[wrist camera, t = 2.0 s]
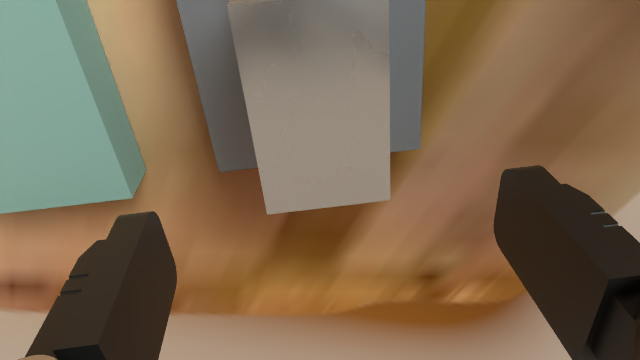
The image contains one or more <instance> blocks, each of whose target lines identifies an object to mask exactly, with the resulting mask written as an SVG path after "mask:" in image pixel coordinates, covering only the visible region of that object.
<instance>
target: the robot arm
mask: <svg viewBox="0 0 640 360" xmlns="http://www.w3.org/2000/svg"><path fill="white" fill-rule="evenodd" d="M494 234H495V238H496V241H497V244H498V246H499V248H500V250H501V251H502V253H503V254H504V256H505V257H506V259H507V260H508V262H509V264H510V265H511V267H512V268H513V270H514V271H515V273H516V274H517V276H518V277H519V279H520V280H521V282H522V283H523V285H524V286H525V288H526V290H527V291H528V293H529V294H530V296H531V297H532V299H533V300H534V302H535V303H536V305H537V306H538V308H539V309H540V311H541V312H542V314H543V316H544V317H545V318H546V320H547V322H548V323H549V324H550V326H551V328H552V329H553V330H554V332H555V334H556V335H557V337H558V338H559V340H560V341H561V343H562V345H563V346H564V348H565V349H566V351H567V352H568V354H569V355H570V357H571V358H572V360H640V243H639V242H638V241H637V240H636V239H635V238H634V237H633V236H632V235H631V234H630V233H629V232H627V231H626V230H625V229H624V228H623V227H622V226H618V223H617V221H615V219H613V218H612V217H611V216H610V215H609V214H608V213H606V214H605V210H604V209H603V208H602V207H601V206H600V205H598V204H597V203H596V202H595V201H594V200H593V199H592V198H591V197H590V196H589V195H587V194H585V193H583V192H581V191H579V190H577V189H575V188H573V187H571V186H570V185H568V184H560V183H559V182H558V181H557V180H556V179H555V178H554V177H553V176H552V175H551V174H550V173H549V172H548V171H547V170H546V169H545V168H544V167H542V166H539V165H537V166H529V167H520V168H512V169H506V170H505V171H504V172H503V173H502V176H501V181H500V187H499V193H498V199H497V206H496V212H495V218H494ZM176 284H177V273H176V265H175V261H174V258H173V256H172V253H171V250H170V247H169V244H168V241H167V239H166V236H165V233H164V230H163V227H162V224H161V222H160V219H159V217H158V215H157V214H156V213H155V212H154V211H152V212H144V213H136V214H128V215H120V216H118V217H117V219H116V221H115V223H114V225H113V227H112V229H111V231H110V233H109V235H108V237H107V239H106V240H98V241H96V242H95V243H94V244H93V245H92V246H91V247H90V248H89V249H88V250H86V251H85V252H84V253H83V254H82V255H81V256H80V257H79V258H78V260H77V262H76V264H75V266H74V268H73V269H72V271H71V273H70V275H69V280H66V282H65V284H64V286H63V288H62V290H61V292H60V293H61V295H60V296H58V297H57V299H56V301H55V303H54V304H53V306H52V308H51V310H50V312H49V314H48V315H47V317H46V319H45V321H44V323H43V325H42V327H41V329H40V330H39V332H38V334H37V336H36V338H35V339H34V341H33V344H32V345H31V347H30V349H29V351H28V352H27V354H26V356H25V358H21V359H19V360H158V358H159V354H160V350H161V346H162V342H163V338H164V334H165V330H166V326H167V322H168V317H169V314H170V310H171V306H172V302H173V298H174V294H175V290H176Z"/></svg>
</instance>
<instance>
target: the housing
mask: <svg viewBox="0 0 640 360" xmlns="http://www.w3.org/2000/svg"><path fill="white" fill-rule="evenodd" d="M227 10H228V15H229V20H230V25H231V30H232V35H233V41H234V46H235V51H236V56H237V61H238V67H239V72H240V77H241V82H242V87H243V92H244V98H245V103H246V108H247V113H248V118H249V123H250V129H251V134H252V139H253V144H254V149H255V155H256V160H257V165H258V170H259V175H260V180H261V186H262V191H263V196H264V201H265V206H266V211H267V215H268V214H276V213H285V212H293V211H302V210H310V209H319V208H327V207H336V206H344V205H353V204H361V203H369V202H378V201H386V200H390V42H389V0H229V2H228V4H227Z"/></svg>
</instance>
